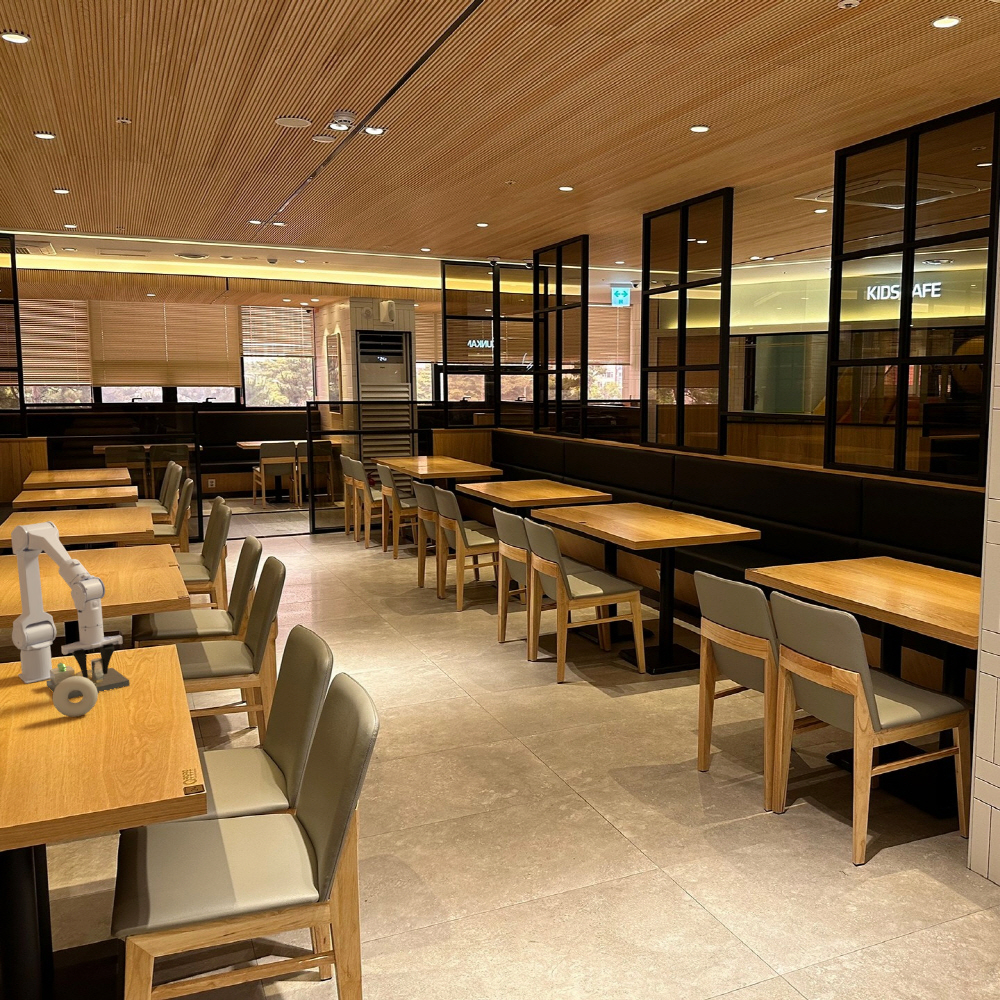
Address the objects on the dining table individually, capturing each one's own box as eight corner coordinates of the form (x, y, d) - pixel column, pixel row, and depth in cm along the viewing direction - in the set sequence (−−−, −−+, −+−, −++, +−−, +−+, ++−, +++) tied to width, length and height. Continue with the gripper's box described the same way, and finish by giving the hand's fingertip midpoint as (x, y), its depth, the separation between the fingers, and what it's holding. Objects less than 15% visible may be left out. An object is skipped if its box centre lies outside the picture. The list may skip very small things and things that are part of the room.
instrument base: (47, 686, 241) (45, 664, 240) (112, 672, 251) (111, 651, 251) (61, 700, 229) (59, 677, 228) (129, 685, 240) (127, 663, 239)
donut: (99, 710, 221) (96, 671, 220) (99, 715, 218) (96, 675, 217) (54, 717, 217) (51, 677, 216) (53, 721, 214) (50, 681, 213)
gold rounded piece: (71, 680, 240) (69, 655, 239) (94, 675, 244) (92, 650, 243) (90, 689, 232) (87, 663, 231) (112, 683, 236) (110, 658, 236)
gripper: (64, 633, 225) (69, 685, 227) (124, 622, 234) (128, 672, 236) (57, 627, 230) (62, 678, 232) (116, 617, 240) (119, 666, 241)
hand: (94, 675), depth 234 cm, fingers open, 4 cm apart
